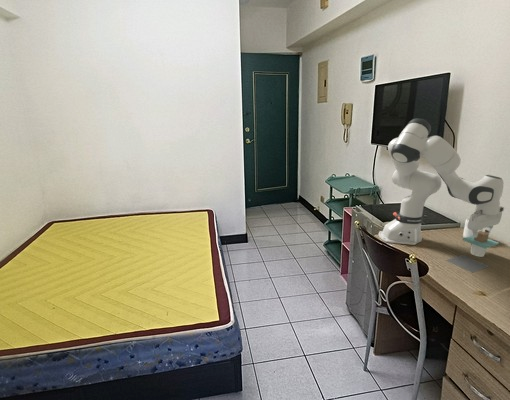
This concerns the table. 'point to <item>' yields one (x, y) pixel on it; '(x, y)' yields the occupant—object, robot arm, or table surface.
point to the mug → (468, 230)
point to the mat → (467, 263)
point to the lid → (481, 240)
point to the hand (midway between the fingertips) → (481, 235)
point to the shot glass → (477, 250)
